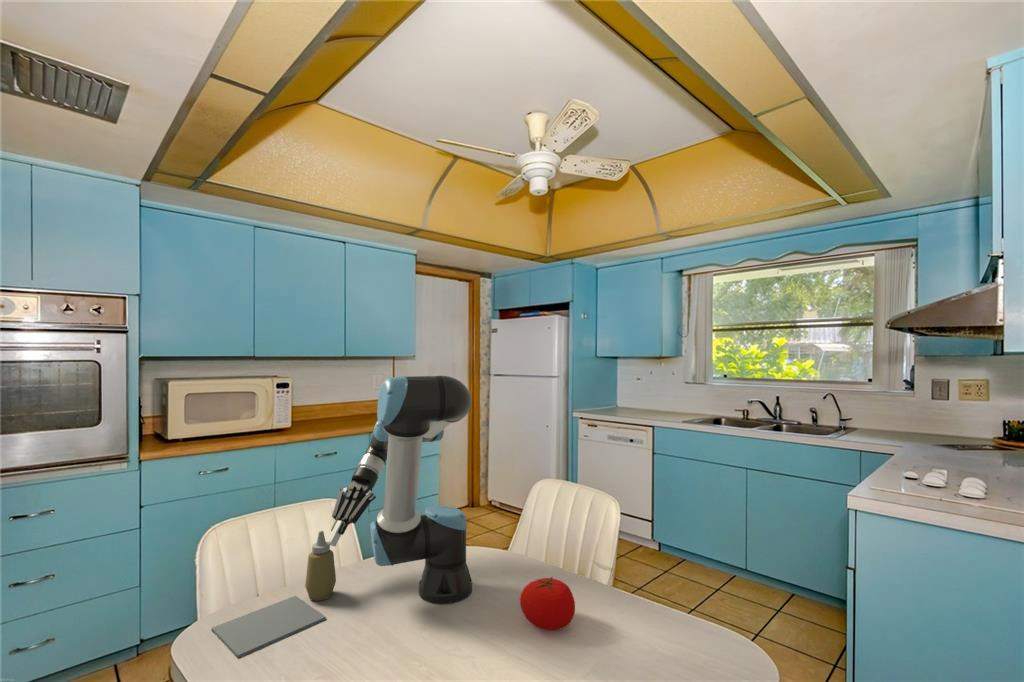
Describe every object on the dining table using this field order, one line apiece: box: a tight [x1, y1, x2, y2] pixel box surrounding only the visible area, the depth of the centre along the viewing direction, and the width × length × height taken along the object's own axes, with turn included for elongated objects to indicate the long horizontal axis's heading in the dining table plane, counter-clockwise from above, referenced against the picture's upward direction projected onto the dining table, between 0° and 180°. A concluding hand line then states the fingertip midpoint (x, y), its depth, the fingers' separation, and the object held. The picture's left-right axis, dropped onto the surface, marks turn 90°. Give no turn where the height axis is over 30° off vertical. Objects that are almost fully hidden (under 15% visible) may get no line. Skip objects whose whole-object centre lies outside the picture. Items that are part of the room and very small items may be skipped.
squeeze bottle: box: [304, 530, 337, 602], centre depth 139 cm, size 8×8×18 cm
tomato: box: [519, 576, 576, 631], centre depth 125 cm, size 14×13×10 cm
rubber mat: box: [211, 595, 327, 659], centre depth 125 cm, size 16×21×1 cm
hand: (331, 544), depth 143 cm, fingers closed
